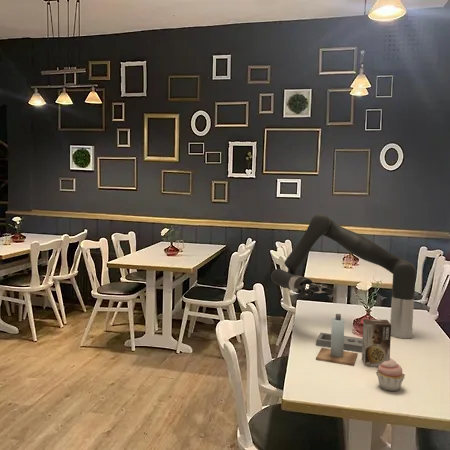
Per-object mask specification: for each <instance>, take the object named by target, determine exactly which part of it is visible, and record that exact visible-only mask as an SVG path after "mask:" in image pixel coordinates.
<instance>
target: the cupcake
mask: <svg viewBox="0 0 450 450" xmlns="http://www.w3.org/2000/svg"><path fill="white" fill-rule="evenodd" d="M377 367H378V368H377V369H376V371H375V374H376V376H377V380H378V384H379V387H380V388H381V389H382V390H385V391H387V392H388V391H389V392H397V391H399V390H400V389H401V387H402V383H403V381H404V379H405V378H406V374H404V373H403V368H402V366H401V365H400V364H399V363H397V362H396V360H394V359H393V358H391V357H390V359H389V361H385V362H383V363H382V364H381V365H379V366H377Z"/></svg>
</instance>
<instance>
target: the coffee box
mask: <svg viewBox="0 0 450 450" xmlns="http://www.w3.org/2000/svg"><path fill="white" fill-rule="evenodd" d="M362 327H363V328H362V338H363V342H362V352H361V361H362V363H363V367H364V366H365V367H378V366H379V365H381V364H382V363H383V362H385V361H389V359H390V358H391V339H392V338H391V337H392V335H391V324H390V321H389V320H388V319H377V318H375V319H373V318H372V319H371V318H363V326H362Z"/></svg>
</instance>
